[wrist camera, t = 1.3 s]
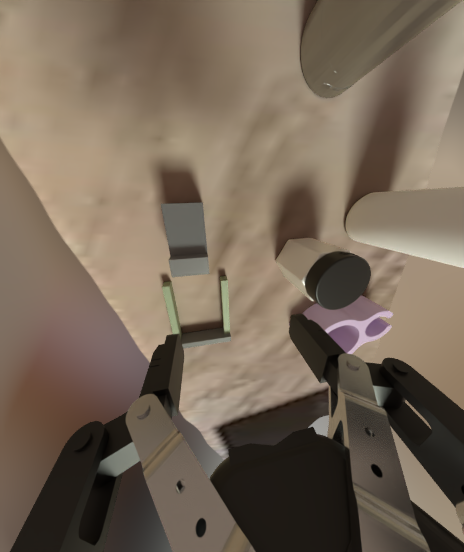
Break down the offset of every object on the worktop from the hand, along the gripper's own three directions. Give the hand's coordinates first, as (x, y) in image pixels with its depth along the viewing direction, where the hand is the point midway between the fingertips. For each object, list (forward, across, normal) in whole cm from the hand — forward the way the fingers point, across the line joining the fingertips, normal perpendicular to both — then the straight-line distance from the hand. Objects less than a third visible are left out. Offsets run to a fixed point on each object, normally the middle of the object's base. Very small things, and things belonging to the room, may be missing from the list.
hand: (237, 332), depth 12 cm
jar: (+20, -16, +3) cm, 26 cm away
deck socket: (+20, +4, +11) cm, 23 cm away
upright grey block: (+20, +4, -4) cm, 21 cm away
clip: (+20, -27, +20) cm, 39 cm away
